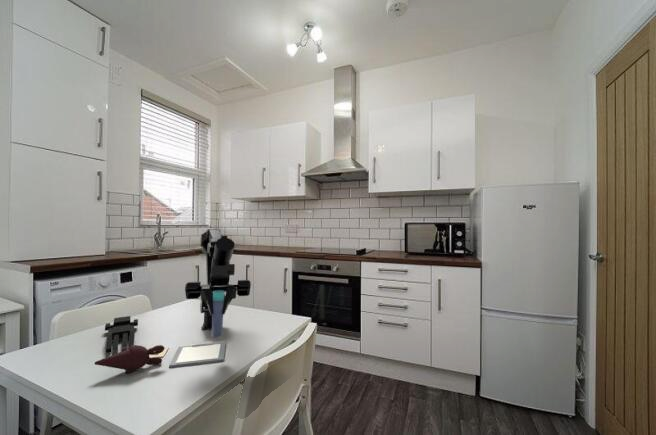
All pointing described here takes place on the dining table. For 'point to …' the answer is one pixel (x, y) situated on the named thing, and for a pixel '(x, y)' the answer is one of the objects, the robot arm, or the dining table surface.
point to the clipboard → (198, 354)
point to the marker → (217, 313)
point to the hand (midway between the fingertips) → (217, 314)
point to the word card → (160, 354)
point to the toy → (120, 334)
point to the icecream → (133, 358)
